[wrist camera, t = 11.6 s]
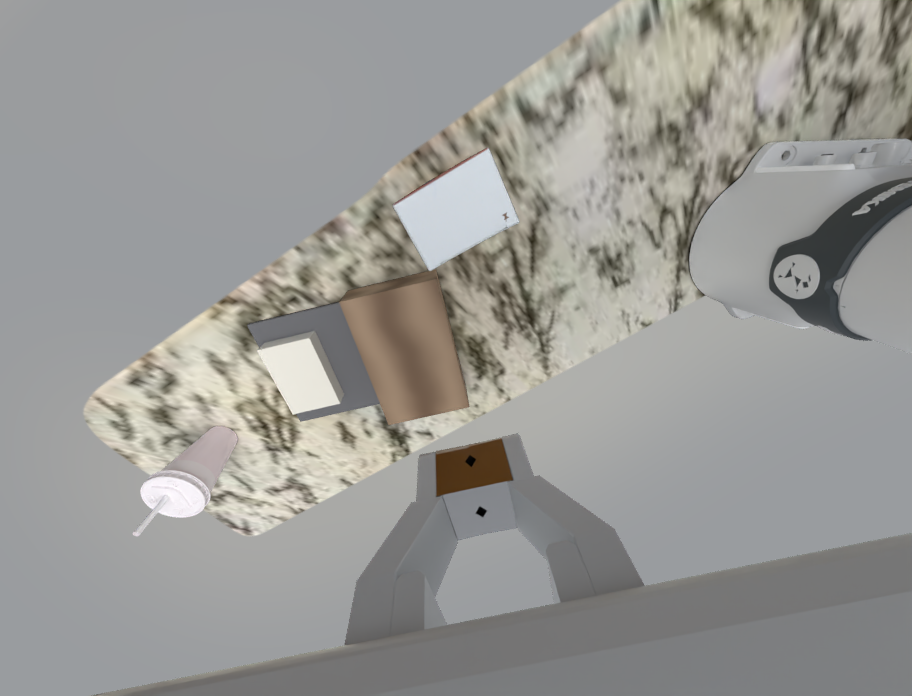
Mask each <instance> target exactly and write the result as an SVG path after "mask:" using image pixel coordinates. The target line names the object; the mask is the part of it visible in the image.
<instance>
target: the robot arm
mask: <svg viewBox="0 0 912 696" xmlns="http://www.w3.org/2000/svg"><path fill="white" fill-rule="evenodd" d="M782 154H783V157H782ZM781 157H782V159H781ZM689 265H690V272H691V276H692V279H693V281H694V283H695V285H696V286H697V288H698V289H699V290H700V291H701V292H702V293H703V294H705V295H706V296H708V297H710V298H712V299H714V300H717V301H719V302H721V303H722V304H724V306H725V307H726V309H727V310H728V312H729V313H730V314H731V315H732V316H734V317H736V318H740V319H747V318H750V317H752V316H755V315H756V316H759V317H762V318H765V319H768V320H771V321H775V322H778V323H781V324H785V325H788V326H791V327H795V328H799V329H806V328H808V327H811V326H818V327H819V328H822V329H823V330H825V331H828V332H830V333H834V334H837V335H840V336H842V335H843V336H847V337H850V338H853V339H857V340H874V341H877V342H879V343H882V344H885V345H888V346H891V347H893V348H896V349H899V350H902V351H904V352H907V353H910V354H912V141H910V140H908V139H859V140H820V141H782V142H770V143H767V144H766V145H764V146H763V147H762V148H761V149H760V150H759V151H758V152H757V154H756V155H755V157H754V158H753V159H752V161H751V162H750V164H749V165H748V167H747V169H746V170H745V172H744V173H743V174H742V176H741V177H740V178H739V179H738V180H737V181H736V182H734V183H733V184H732V185H731V186H730V187H729V188H728V189H726V190H725V191H724V192H723V193H722V194H721V195H720V196H719V197H718V198H717V199H716V200H715V202H714V203H713V204H712V205H711V207H710V208H709V209H708V210H707V212H706V213H705V215H704V217H703V218H702V220H701V222H700V224H699V225H698V228H697V230H696V232H695V235H694V238H693V241H692V244H691V249H690V257H689ZM515 528H518V530H519V531H520V532H521V533H522V534H523V535H524V537H525V538H526V539H527V540H528V541H529V542H530V543H531V544H532V545H533V546H534V547H535V548H536V549H537V550H538V551H539V553H540V554H541V555H542V556H543V557H544V558H545V559H546V560H547V563H548V569H549V576H550V581H551V588H552V595H553V600H554V604H550V605H545V606H540V607H535V608H530V609H525V610H520V611H515V612H510V613H505V614H500V615H495V616H490V617H485V618H480V619H475V620H470V621H465V622H460V623H455V624H450V625H447V623H446V621H445V619H444V617H443V614H442V612H441V610H440V608H439V606H438V604H437V601H436V599H435V596H436V594H437V592H438V589H439V587H440V585H441V582H442V580H443V577H444V575H445V573H446V570H447V568H448V565H449V563H450V561H451V558H452V555H453V553H454V551H455V549H456V546H457V544H458V540H462V539H466V538H470V537H474V536H478V535H483V534H487V533H492V532H498V531H504V530H509V529H515ZM91 696H912V533H909V534H904V535H898V536H893V537H888V538H883V539H878V540H873V541H868V542H863V543H858V544H853V545H848V546H843V547H838V548H833V549H828V550H823V551H818V552H813V553H808V554H802V555H797V556H792V557H787V558H782V559H777V560H773V561H767V562H762V563H757V564H752V565H747V566H742V567H737V568H732V569H727V570H722V571H717V572H712V573H707V574H702V575H697V576H692V577H687V578H682V579H676V580H671V581H666V582H662V583H657V584H651V585H646V586H645V585H644V584H643V582H642V580H641V578H640V576H639V574H638V572H637V570H636V568H635V567H634V565H633V563H632V561H631V559H630V557H629V555H628V554H627V551H626V550H625V548H624V546H623V544H622V542H621V540H620V538H619V536H618V535H617V533H616V531H615V529H614V528H612V527H611V526H610V525H608V524H607V523H605V522H604V521H603V520H601V519H600V518H598V517H597V516H596V515H594V514H593V513H591V512H590V511H589V510H587V509H586V508H584V507H583V506H582V505H580V504H579V503H577V502H576V501H574V500H573V499H572V498H570V497H569V496H568V495H566V494H565V493H563V492H562V491H560V490H559V489H558V488H556V487H555V486H554V485H552V484H551V483H549V482H548V481H547V480H545V479H544V478H542V477H541V476H534V475H533V472H532V469H531V466H530V463H529V461H528V458H527V455H526V452H525V449H524V446H523V443H522V441H521V438H520V435H519V434H513V435H508V436H504V437H502V438H496V439H492V440H488V441H483V442H479V443H475V444H470V445H466V446H461V447H456V448H450V449H445V450H440V451H436V452H432V453H426V454H421V455H420V456H419V458H418V474H417V495H416V502H412V503H411V504H410V505H409V506H408V508H407V509H406V511H405V512H404V514H403V515H402V517H401V518H400V519H399V521H398V522H397V524H396V525H395V527H394V528H393V530H392V531H391V532H390V534H389V535H388V537H387V538H386V540H385V541H384V542H383V544H382V545H381V547H380V548H379V550H378V551H377V553H376V554H375V556H374V557H373V558H372V560H371V561H370V563H369V564H368V566H367V567H366V569H365V570H364V572H363V573H362V574H361V576H360V577H359V579H358V580H357V582H356V587H355V592H354V598H353V603H352V608H351V613H350V619H349V624H348V629H347V634H346V640H345V645H344V646H339V647H334V648H329V649H324V650H319V651H314V652H309V653H304V654H299V655H294V656H289V657H284V658H279V659H274V660H269V661H263V662H258V663H253V664H249V665H243V666H238V667H233V668H228V669H223V670H218V671H213V672H208V673H203V674H198V675H193V676H188V677H183V678H177V679H172V680H167V681H162V682H157V683H152V684H147V685H142V686H137V687H132V688H127V689H122V690H117V691H112V692H106V693H101V694H96V695H91Z"/></svg>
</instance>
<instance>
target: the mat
mask: <svg viewBox="0 0 912 696" xmlns="http://www.w3.org/2000/svg"><path fill="white" fill-rule="evenodd" d="M247 326H248V328H249V330H250V332H251V333H252V335H253V337H254V339H255V341H256V342H257V344H258V346H259V348H260V347H261V346H262V345H263V344H264V343H266V342H270V341H274V340H278V339H282V338H287V337H291V336H295V335H299V334H303V333H308V332H312V331H315V332H316V334H317V336H318V338H319V341H320V343H321V345H322V347H323V349H324V352H325V354H326V356H327V358H328V360H329V362H330V365H331V367H332V369H333V371H334V373H335V376H336V378H337V380H338V382H339V384H340V386H341V389H342V391H343V393H344V396H343V398H342V401H341V403H340V404H336V405H332V406H328V407H323V408H319V409H315V410H310V411H306V412H301V413H297V416H298V418H299V420H300V421H305V420H310V419H314V418H319V417H323V416H327V415H332V414H336V413H341V412H345V411H350V410H354V409H358V408H363V407H367V406H372V405H376V404H380V402H379V400H378V397H377V395H376V392H375V390H374V387H373V385H372V382H371V380H370V377H369V375H368V372H367V370H366V367H365V365H364V363H363V360H362V358H361V355H360V353H359V350H358V348H357V345H356V343H355V340H354V338H353V335H352V333H351V330H350V328H349V326H348V323H347V321H346V318H345V316H344V313H343V311H342V308H341V306H340V303H339V302H337V303H333V304H329V305H324V306H320V307H316V308H312V309H308V310H304V311H299V312H295V313H291V314H287V315H283V316H279V317H274V318H270V319H266V320H262V321H258V322H254V323H249V324H248V325H247Z"/></svg>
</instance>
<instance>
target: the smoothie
mask: <svg viewBox="0 0 912 696" xmlns="http://www.w3.org/2000/svg"><path fill="white" fill-rule="evenodd" d="M237 441H238V437H237V435H236V433H235V432H234V431H233V430H231V429H229V428H227V427H224V426H215V427H212V428H211V429H210V430H208V431H207V432H206V433H205V434H204V435H203V436H201V437H200V438H199V439H198V440H197V441H195V442H194V443H193V444H192V445H191V446H190V447H188V448H187V449H186V450H185V451H184V452H182V453H181V454H180V455H179V456H178V457H177V458H175V459H174V460H173V461H172V462H171V463H169V464H168V465H167V466H166V467H165V468H164V469H162V470H161V471H159V472H156V473H154V474H152V475H151V476H150V477H149V478H148V479H147V481H146V482H145V483H144V484H143V485H142V487H141V490H140V493H141V497H142V499H143V501H144V502H145V503H146V505H148V506H149V507H150V508H151V509H153V510H152V511H151V512H150V514H149V515H148V516H147V517H146V518H145V519H144V521H143V522H142V523H141V524H140V525H139V527H138V528H137V529H136V530H135V531H134V533H133V535H135V536H139V535H140V533H141V532H142V531H143V530H144V529H145V528H146V526H147V525H148V524H149V523H150V522H151V520H152V519H153V518H154V517H155V515H156V514H157V513H161V514H163V515H167V516H171V517H178V518H180V517H190V516H194V515H196V514H198V513H200V512H201V511H202V510H203V509H204V507H205V506H206V505H207V504H208V502H209V500H210V492H211V491H212V489H213V487H214V485H215V483H216V481H217V479H218V477H219V475H220V474H221V472H222V470H223V468H224V466H225V464H226V462H227V460H228V459H229V457H230V455H231V453H232V451H233V449H234V447H235V445H236V443H237Z"/></svg>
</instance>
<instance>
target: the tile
mask: <svg viewBox="0 0 912 696" xmlns="http://www.w3.org/2000/svg"><path fill="white" fill-rule="evenodd" d="M257 352H258V353H259V355H260V357H261V359H262V361H263V362H264V364H265V366H266V368H267V369H268V371H269V373H270V375H271V377H272V378H273V380H274V382H275V384H276V385H277V387H278V389H279V391H280V393H281V394H282V396H283V398H284V400H285V401H286V403H287V405H288V407H289V408H290V410H291V412H292V414H297V413H301V412H306V411H310V410H315V409H319V408H323V407H328V406H332V405H336V404H340V403H341V401H342V398H343V396H344V393H343V391H342V389H341V386H340V384H339V382H338V380H337V378H336V376H335V373H334V371H333V369H332V367H331V365H330V362H329V360H328V358H327V356H326V354H325V352H324V349H323V347H322V345H321V343H320V341H319V338H318V336H317V334H316V332H315V331H312V332H308V333H303V334H299V335H295V336H291V337H287V338H282V339H278V340H274V341H270V342H266V343H264V344H263V345H262V346H261V347H260V348H259V349H258V350H257Z"/></svg>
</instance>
